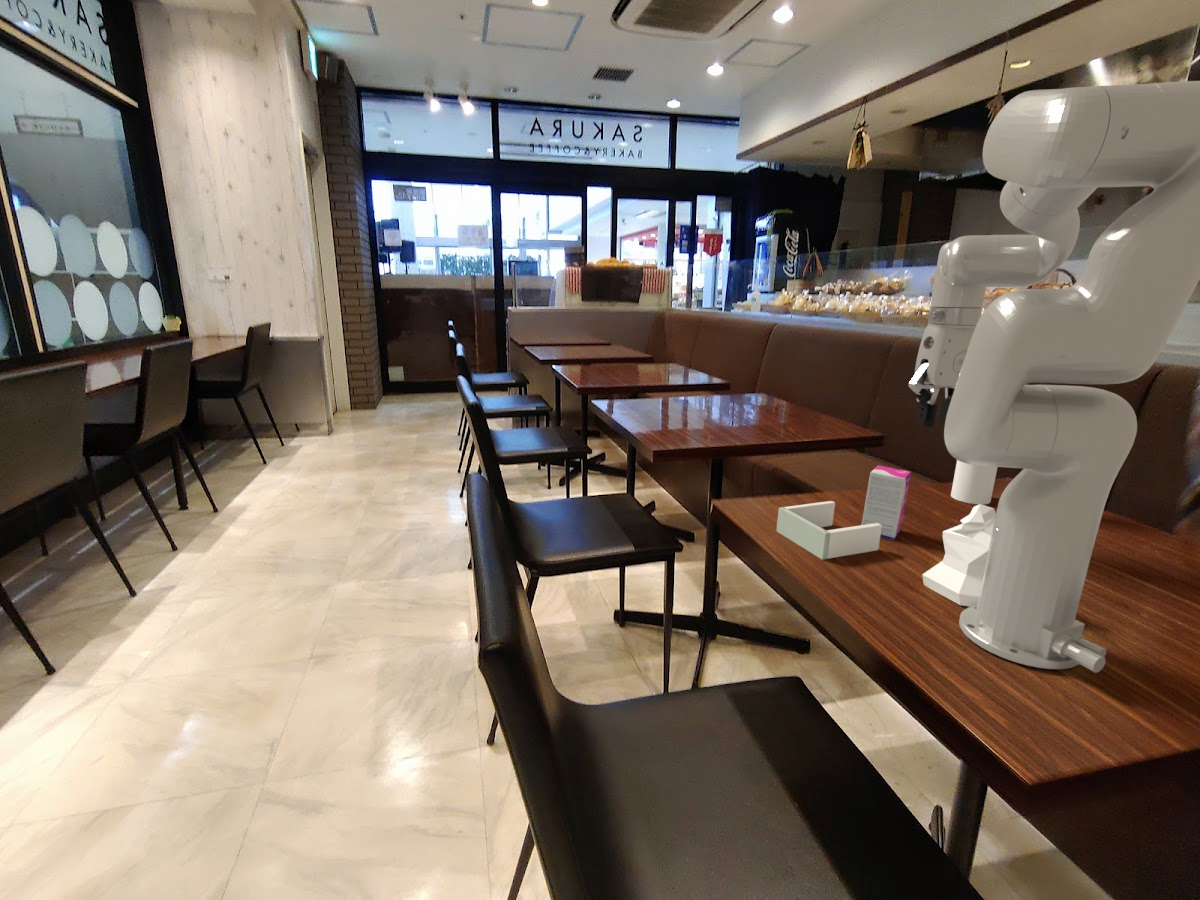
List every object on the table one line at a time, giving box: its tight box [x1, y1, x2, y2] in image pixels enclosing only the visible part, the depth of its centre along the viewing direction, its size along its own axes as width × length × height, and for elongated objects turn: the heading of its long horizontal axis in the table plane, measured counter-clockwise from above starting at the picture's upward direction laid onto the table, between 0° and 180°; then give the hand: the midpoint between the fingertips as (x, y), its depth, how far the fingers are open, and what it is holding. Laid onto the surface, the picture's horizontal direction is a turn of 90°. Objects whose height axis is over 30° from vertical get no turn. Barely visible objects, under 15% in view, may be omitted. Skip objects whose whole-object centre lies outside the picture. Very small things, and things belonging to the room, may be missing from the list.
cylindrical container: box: [950, 459, 998, 505], centre depth 119 cm, size 7×7×25 cm
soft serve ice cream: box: [922, 504, 997, 607], centre depth 82 cm, size 12×15×14 cm
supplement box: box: [861, 464, 912, 541], centre depth 103 cm, size 6×6×12 cm
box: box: [776, 500, 882, 560], centre depth 100 cm, size 12×12×4 cm
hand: (936, 423), depth 102 cm, fingers open, 4 cm apart
